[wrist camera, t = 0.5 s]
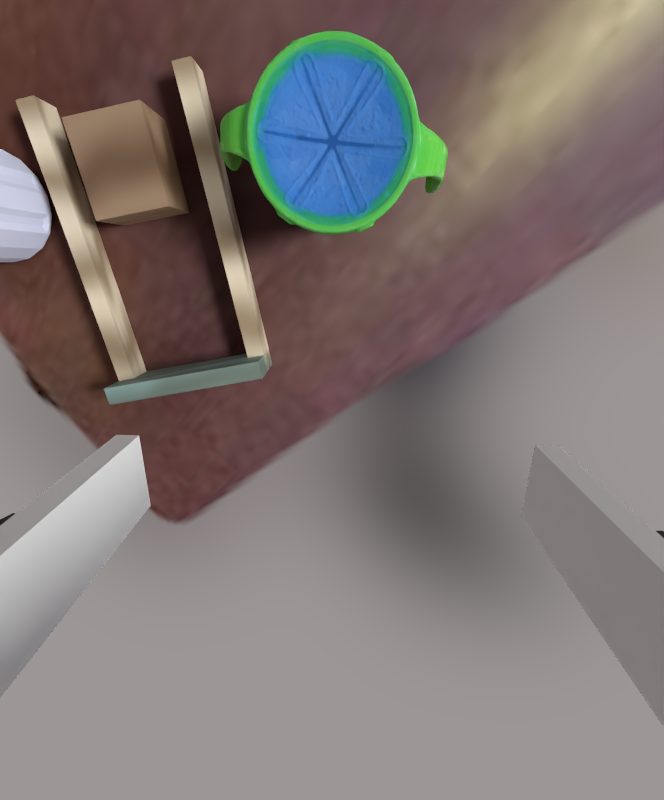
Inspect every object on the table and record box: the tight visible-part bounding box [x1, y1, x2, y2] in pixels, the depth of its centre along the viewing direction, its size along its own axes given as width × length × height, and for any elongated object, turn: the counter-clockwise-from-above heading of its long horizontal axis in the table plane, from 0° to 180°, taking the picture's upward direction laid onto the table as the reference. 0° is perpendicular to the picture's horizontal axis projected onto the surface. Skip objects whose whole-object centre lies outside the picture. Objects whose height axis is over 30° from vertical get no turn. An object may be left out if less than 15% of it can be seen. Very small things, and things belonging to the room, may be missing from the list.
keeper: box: [62, 100, 190, 226], centre depth 32 cm, size 7×6×4 cm
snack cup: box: [220, 31, 448, 234], centre depth 29 cm, size 16×10×10 cm
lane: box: [16, 56, 272, 405], centre depth 33 cm, size 24×14×5 cm, turn 10°
